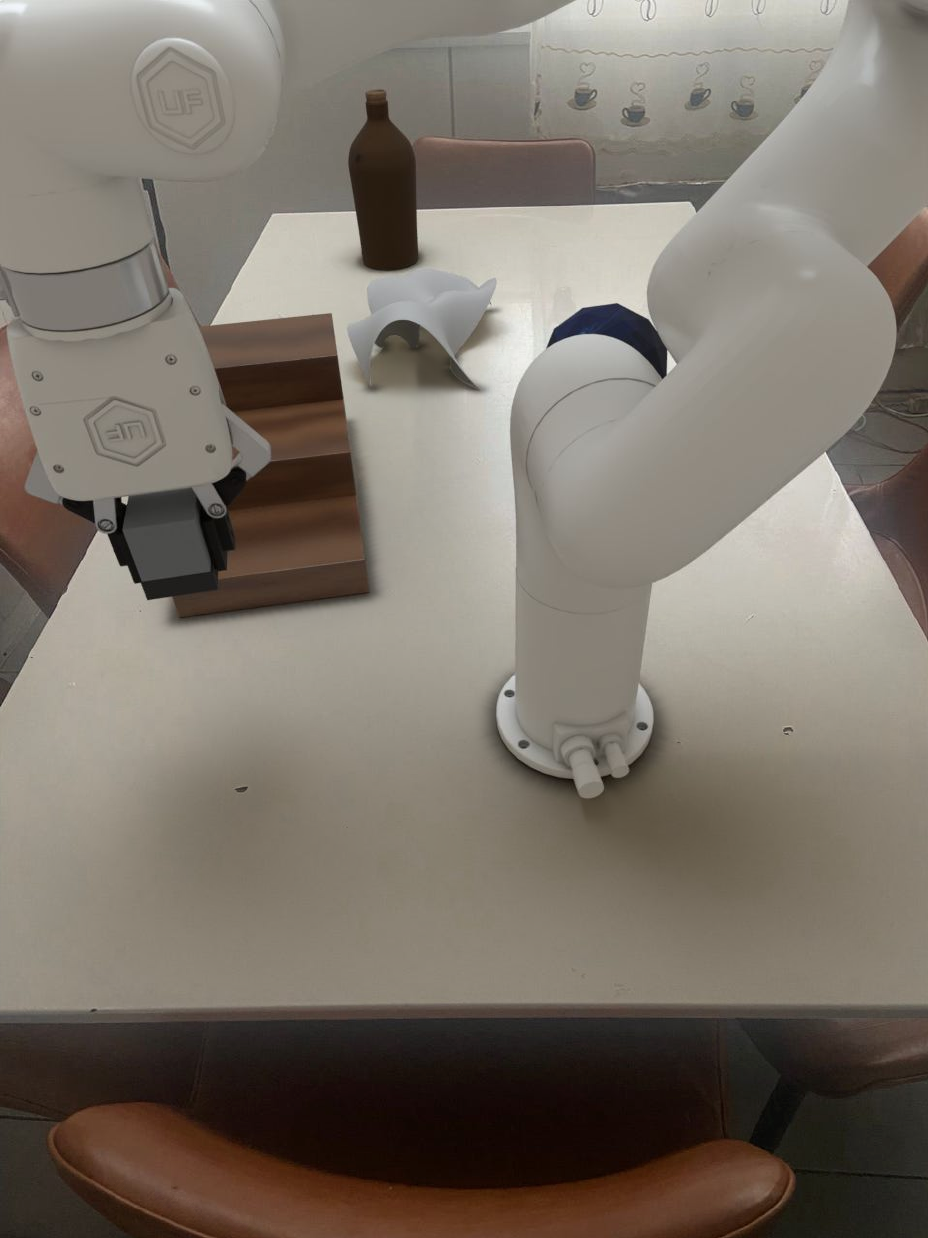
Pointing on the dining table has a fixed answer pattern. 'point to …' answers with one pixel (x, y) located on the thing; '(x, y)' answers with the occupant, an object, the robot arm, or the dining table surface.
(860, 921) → the dining table surface
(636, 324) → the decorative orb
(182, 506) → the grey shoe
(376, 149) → the olive oil
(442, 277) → the sculpture
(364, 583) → the wooden step block
